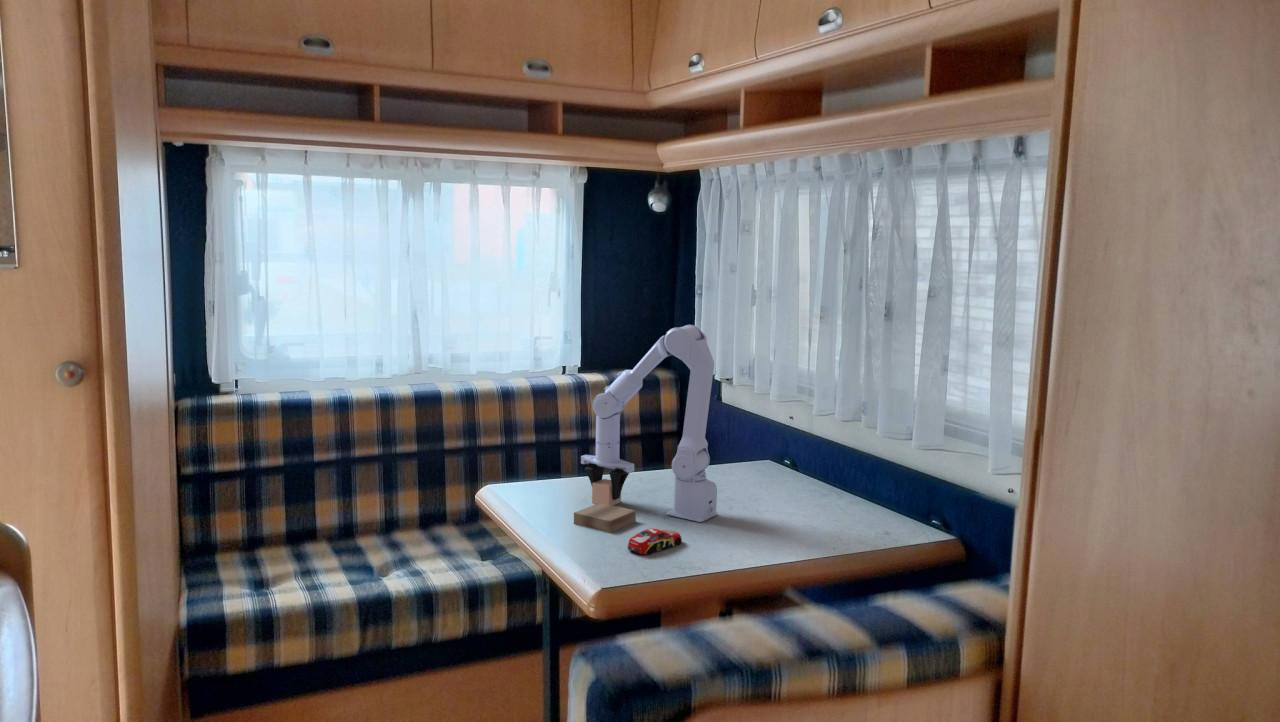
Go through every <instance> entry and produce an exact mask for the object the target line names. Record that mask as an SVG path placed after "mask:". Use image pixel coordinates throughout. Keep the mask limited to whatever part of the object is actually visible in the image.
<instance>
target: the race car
mask: <svg viewBox="0 0 1280 722" xmlns="http://www.w3.org/2000/svg"><path fill="white" fill-rule="evenodd" d="M681 544H682V536H681V534H680V533H679V532H677V531H675V530H668V529H662V530H660V529H658V528H648V529H647V528H646V529H644V530H642V531H640V532H638V533H636V534H634V536H632V537H630V538H629V540H628V544H627V550H628V551H631V552H634V553H637V554H641V555H649V554H650V555H653V554H655V552H656V553H657V552H660V551H664V550H667V549H669V548H672V547H673V548H674V547H678V546H680V545H681ZM652 553H653V554H652Z"/></svg>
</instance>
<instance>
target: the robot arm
mask: <svg viewBox="0 0 1280 722" xmlns="http://www.w3.org/2000/svg"><path fill="white" fill-rule="evenodd" d="M707 339H708V338H707V335H706V334H705V333H704V332H703V331H702V330H701V329H700V328H699V327H698V326H696V325H694V324H686V325H683V326H680V327H673V328H670V329H669V330H668V331H666V334H665V335H662V336H661V337H659V339H657V341H656V342H655V343H654V344H653V346H651V348H650V349H649V350H648V351H647V353H645V355H644V356H643V357H642V358H641V359H640V360H639V362H638V363H637V364H636V365H635V366H634V367H633V369H624V370H623V371H622V370H621V371H619V372H618V373H617V374H616V376H617V378H616V379H615V380H614V381H613V382H612V383H611V384H610V385H607V386H605V388H604V393H603V392H602V393H598V394H597V395H596V396H595V398H594V399H593V400H592V403H591V404H592V406H591V407H592V410H593V413H594V414H595V415H596V416H595V419H596V420H595V455H593V454H592V455H591V454H584V455H581V456H580V464H582V465H587V466H586V467H584V472H585V473H586V475H587V477H588V479H589V481H590V485H591V486H592V483H594V482H597V481H600V480H602V479H603V475H604V470H605V468H606V469H611V470H612V471H609V473H608V474H609V478H610V480H611V483H612V499H613V500H616V499H619V498H620V494H621V495H622V490H623V487H624V485H625V482H626V479H627V478H628V476H629V475H630V473H634V472H635V463H632V462H630V461H626V460H624V459H621V458H620V438H621V437H620V434H621V433H620V431H621V430H620V429H621V428H620V427H621V423H620V422H621V413H622V412H623V411H624V409H625V405H626V404H627V403H628V402H629V401H630V400H631V399H633V397H635V395H636V394H638V392H639V391H640V390H641V389H642V388H643V384H644V382H643V381H644V378H646V376H648V375H649V374H650V372H652V371H653V370H654V369H655V368H656V367H657V366H658V365H660V364H661V362H662V361H663V360H664V359H666V358H667V357H671V356H674V357H676V358H678V359H679V360H680V361H682V362H683V364H685V365H686V367H688V369H689V370H690V371H689V372H690V373H689V380H688V387H687V388H688V389H687V397H686V405H685V406H686V407H685V413H684V421H683V430H682V435H681V440H680V441H679V444H678V445H677V451H676V454H675V456H674V457H673V459H672V461H671V469H672V470H671V471H672V473H673V474H674V496H673V498H674V499H673V501H674V502H673V503H674V504H673V505H674V506H673V509H671V510H670V511H668V512H666V515H667V516H671V517H675V518H679V519H684V520H689V521H693V522H698V523H703V522H705V521H707V520H709V519H711V518H712V517H715V516H718V512H717V504H718V503H717V500H718V499H717V498H718V488H717V485H716V484H717V483H716V482H714V481H711V480H709V479H708V478H707V473H706V469H707V468H708V467H709V465H710V461H711V458H710V453H709V450H708V448H709V447H708V446H709V442H708V441H707V439H706V433H707V425H708V424H707V423H708V416H709V410H710V408H709V407H710V400H711V393H712V385H713V379H714V378H713V376H714V369H715V368H714V367H715V361H714V359H713V355H712V352H711V350H710V348H709V345H708V342H707Z"/></svg>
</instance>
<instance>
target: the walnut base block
mask: <svg viewBox="0 0 1280 722" xmlns="http://www.w3.org/2000/svg"><path fill="white" fill-rule="evenodd" d="M636 522H637V510H635V509H629V508H626V507H621V506H617V505H609V504H604V503H599V504H594V505H591V506H588V507H586V508H582V509H580V510H578V511H574V512H573V525H577V526H581V527H585V528H589V529H594V530H598V531H602V532H606V533H612V532H615V531H616V530H620V529H622V528H624V527H626V526H628V525H629V526H630V525H631V524H633V523H636Z"/></svg>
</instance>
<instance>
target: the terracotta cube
mask: <svg viewBox="0 0 1280 722" xmlns="http://www.w3.org/2000/svg"><path fill="white" fill-rule="evenodd" d="M591 488H592V490H591V493H592V494H591V498H592V500H591V503H592V504H594V505H596V504H599V503H604V504H609V505H613V506H616V504H620V503H622V493H621V494H620V498H619V499H616V500H613V499H612V483H611V479H609V478H602V480H600V481H597V482H594V483H592V485H591Z"/></svg>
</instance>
